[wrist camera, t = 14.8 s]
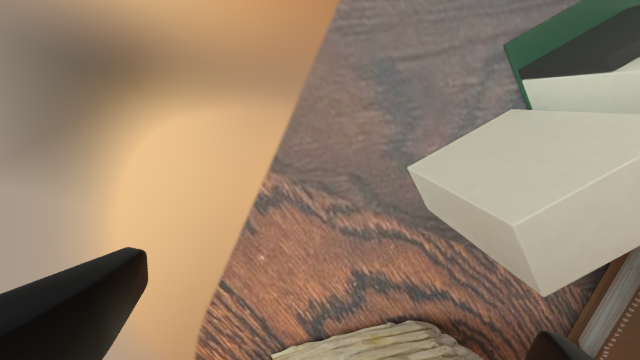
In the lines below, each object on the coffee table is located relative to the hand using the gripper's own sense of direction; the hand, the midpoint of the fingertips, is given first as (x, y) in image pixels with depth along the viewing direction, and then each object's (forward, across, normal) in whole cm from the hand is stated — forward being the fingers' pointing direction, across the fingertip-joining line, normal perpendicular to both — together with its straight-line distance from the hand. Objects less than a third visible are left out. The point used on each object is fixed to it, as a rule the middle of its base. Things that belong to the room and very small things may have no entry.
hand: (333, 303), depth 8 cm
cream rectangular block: (+15, -7, 0) cm, 16 cm away
